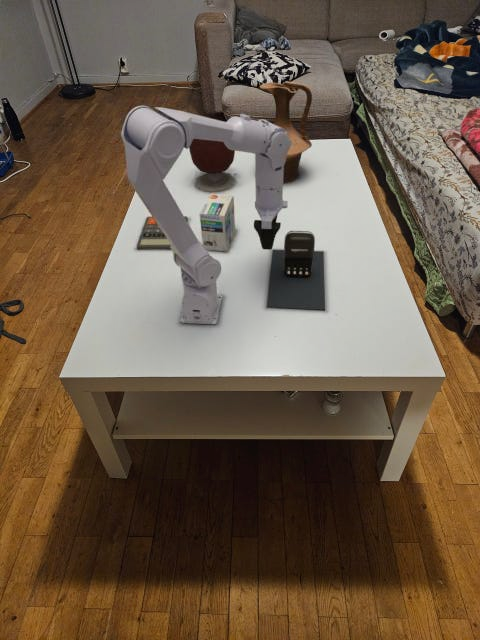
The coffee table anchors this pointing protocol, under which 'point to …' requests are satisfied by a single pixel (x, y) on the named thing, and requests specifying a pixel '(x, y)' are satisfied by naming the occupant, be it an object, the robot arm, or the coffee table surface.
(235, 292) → the coffee table surface
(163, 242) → the calculator
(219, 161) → the mate gourd
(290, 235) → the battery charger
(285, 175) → the pitcher
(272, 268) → the mat
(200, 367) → the coffee table surface
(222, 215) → the light bulb box
